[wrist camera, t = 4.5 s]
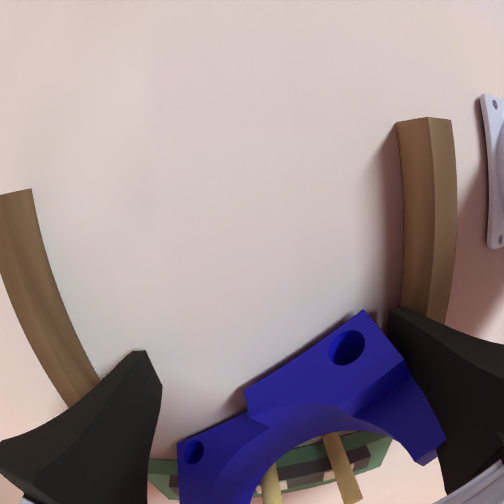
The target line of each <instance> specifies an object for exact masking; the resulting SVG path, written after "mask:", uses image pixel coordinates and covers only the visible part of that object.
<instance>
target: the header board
mask: <svg viewBox="0 0 504 504" xmlns="http://www.w3.org/2000/svg"><path fill="white" fill-rule="evenodd" d="M322 440H323V442H321V443H317V444H313V445H309V446H305V447H300V448H296V449H291V450H290V451H288V452H287V453H285V454H284V455H283V456H282V457H281V458H279V459H278V460H277V461H276V462H275V463H274V464H273V465H272V466H271V467H270V468H269V470H268V471H267V472H266V473H265V474H264V476H263V477H262V479H261V480H260V482H259V483H258V485H257V487H256V489H255V491H254V493H253V496H252V498H253V497H261V496H262V498H263V504H283V501H282V495H281V494H282V493H288V492H293V491H298V490H303V489H307V488H312V487H316V486H320V485H324V484H328V483H331V482H335V481H337V484H338V487H339V490H340V493H341V496H342V499H343V502H344V504H353V503H356V502H358V501H360V500H361V499H363V497H362V494H361V491H360V489H359V486H358V484H357V481H356V478H355V476H354V475H357V474H360V473H363V472H366V471H369V470H372V469H374V468H377V467H379V466H381V464H382V461H383V459H384V457H385V455H386V453H387V450H388V448H389V446H390V443H391V441H392V438H390V437H388V436H385V435H382V434H379V433H374V432H369V431H359V432H356V433H353V434H350V435H346V436H343V437H339V435H338V433H337V432H332V433H327V434H325V435H324V436H323V438H322ZM147 479H148V480H149V481H150V482H151V483H152V484H153V485H154V486H155V487H156V488H157V489H158V490H159V491H160V492H162V493H163V494H164V495H165V496H166V497H167V498H168V499H171V500H179V486H178V466H177V460H150V459H149V464H148V477H147Z"/></svg>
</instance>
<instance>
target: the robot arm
mask: <svg viewBox="0 0 504 504" xmlns="http://www.w3.org/2000/svg"><path fill="white" fill-rule="evenodd" d="M480 104H481V109H482V115H483V121H484V128H485V136H486V145H487V156H488V174H489V214H488V231H487V246H488V247H489V248H491V249H494V250H495V249H498V248H501V247H504V100H503V99H501V98H498V97H495V96H493V95H490V94H482V95H481V96H480ZM386 337H387V338H388V340H389V341H390V342H391V343H392V345H393V346H394V347H395V348H396V350H397V351H398V352H399V353H400V355H401V356H402V357H403V358H404V360H405V362H406V364H407V366H408V368H409V371H410V373H411V376H412V378H413V379H414V381H415V382H416V383H417V385H418V386H419V388H420V389H421V390H422V392H423V394H424V395H425V397H426V398H427V400H428V402H429V404H430V406H431V408H432V410H433V412H434V414H435V416H436V418H437V420H438V422H439V424H440V426H441V428H442V430H443V433H444V435H445V437H446V440H445V441H444V442H443V443H442V445H441V446H440V447H439V448H438V449H437V450H436V452H437V456H438V459H439V463H440V467H441V471H442V476H443V481H444V487H445V492H446V494H447V496H446V497H444V498H442V499H440V500H438V501H437V502H435V503H433V504H504V345H503V344H498V343H493V342H489V341H486V340H482V339H479V338H476V337H473V336H470V335H467V334H464V333H462V332H459V331H457V330H454V329H452V328H450V327H447V326H445V325H443V324H441V323H439V322H436V321H434V320H432V319H430V318H428V317H426V316H424V315H422V314H419V313H417V312H415V311H413V310H411V309H408V308H406V307H403V306H401V307H398V308H394V309H390V311H389V320H388V328H387V336H386ZM161 398H162V384H161V382H160V380H159V378H158V376H157V374H156V372H155V370H154V368H153V366H152V364H151V361H150V359H149V357H148V355H147V353H146V350H145V351H132V352H131V353H130V354H128V355H127V356H126V357H125V358H124V359H123V360H122V361H121V362H120V363H119V364H118V365H117V366H116V367H115V368H114V369H113V370H112V371H111V372H110V373H109V374H108V375H107V376H106V377H105V378H104V379H103V380H102V381H101V382H99V383H98V384H97V385H96V386H95V387H94V388H93V389H92V390H91V391H90V392H88V393H87V394H86V395H85V396H84V397H83V398H82V399H80V400H79V401H78V402H77V403H75V404H74V405H73V406H71V407H70V408H69V409H67V410H66V411H65V412H63V413H62V414H60V415H58V416H57V417H55V418H53V419H52V420H50V421H48V422H47V423H45V424H43V425H41V426H39V427H37V428H35V429H33V430H31V431H29V432H26V433H24V434H21V435H18V436H15V437H12V438H9V439H6V440H2V441H1V442H0V473H1V474H2V475H3V476H4V477H5V478H7V479H8V480H9V481H10V482H11V483H13V484H14V485H15V486H16V487H18V488H19V489H21V490H22V491H23V492H24V495H23V497H22V498H21V501H20V503H19V504H147V477H148V464H149V456H150V450H151V446H152V441H153V437H154V433H155V429H156V425H157V420H158V416H159V412H160V407H161Z"/></svg>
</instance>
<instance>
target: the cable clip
mask: <svg viewBox="0 0 504 504" xmlns="http://www.w3.org/2000/svg"><path fill="white" fill-rule="evenodd" d="M244 394H245V399H246V404H247V409H248V411H247V412H245V413H243V414H241V415H239V416H237V417H235V418H233V419H231V420H229V421H227V422H225V423H223V424H220V425H218V426H216V427H214V428H212V429H210V430H207V431H205V432H203V433H201V434H198V435H196V436H194V437H191V438H189V439H186V440H184V441H182V442H179V443H177V466H178V486H179V500H180V504H250V501H251V498H252V496H253V493H254V491H255V489H256V487H257V485H258V483H259V482H260V480H261V479H262V477H263V476H264V474H265V473H266V472H267V471H268V470H269V468H270V467H271V466H272V465H273V464H274V463H275V462H276V461H277V460H278V459H279V458H281V457H282V456H283V455H284V454H285V453H287V452H288V451H290V450H291V449H293V448H294V447H296V446H298V445H299V444H301V443H303V442H305V441H307V440H310V439H312V438H315V437H317V436H320V435H324V434H327V433H332V432H337V431H347V430H362V431H369V432H374V433H379V434H382V435H385V436H388V437H390V438H392V439H394V440H396V441H398V442H400V443H401V444H402V446H403V447H404V448H405V449H406V450H407V451H408V453H409V454H410V456H411V457H412V459H413V460H414V462H416V463H418V464H420V465H422V466H425V465H426V464H428V463H429V462H431V461H432V460H433V459H435V458H436V457H438V456H437V452H436V450H437V449H438V448H439V447H440V446H441V445H442V443H443V442H444V441H445V440H446V437H445V435H444V433H443V430H442V428H441V426H440V424H439V422H438V420H437V418H436V416H435V414H434V412H433V410H432V408H431V406H430V404H429V402H428V400H427V398H426V397H425V395H424V394H423V392H422V390H421V389H420V388H419V386H418V385H417V383H416V382H415V381H414V379H413V378H412V376H411V373H410V371H409V368H408V366H407V364H406V362H405V360H404V358H403V357H402V356H401V355H400V353H399V352H398V351H397V350H396V348H395V347H394V346H393V345H392V343H391V342H390V341H389V340H388V338H387V337H386V336H385V335H384V333H383V332H382V331H381V330H380V328H379V327H378V326H377V325H376V324H375V322H374V321H373V320H372V319H371V317H370V316H369V315H368V314H367V313H366V311H365V310H364V309H363V310H361V311H360V312H359V313H358V314H356V315H355V316H354V317H352V318H351V319H350V320H348V321H347V322H346V323H345V324H343V325H342V326H341V327H339V328H338V329H336V330H335V331H334V332H332V333H331V334H330V335H328V336H327V337H325V338H324V339H323V340H321V341H320V342H318V343H317V344H316V345H314V346H313V347H311V348H310V349H308V350H307V351H305V352H304V353H302V354H301V355H299V356H298V357H296V358H295V359H293V360H292V361H290V362H289V363H287V364H286V365H284V366H283V367H281V368H279V369H278V370H276V371H275V372H273V373H271V374H270V375H268V376H267V377H265V378H263V379H262V380H260V381H258V382H257V383H255V384H253V385H251V386H250V387H248V388H246V389H245V390H244Z"/></svg>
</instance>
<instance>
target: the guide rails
mask: <svg viewBox="0 0 504 504" xmlns="http://www.w3.org/2000/svg"><path fill="white" fill-rule="evenodd" d="M396 126H397V133H398V141H399V149H400V159H401V170H402V183H403V204H404V255H403V275H402V289H401V300H400V307H401V306H403V307H406V308H408V309H411V310H413V311H415V312H417V313H419V314H422V315H424V316H426V317H428V318H430V319H432V320H434V321H436V322H439V323H441V324H443V325H444V322H445V317H446V312H447V307H448V301H449V296H450V289H451V283H452V275H453V267H454V258H455V246H456V230H457V175H456V159H455V148H454V139H453V131H452V124H451V120H448V119H440V118H432V117H425V118H418V119H412V120H407V121H401V122H396ZM0 273H1V276H2V279H3V282H4V285H5V288H6V291H7V293H8V296H9V298H10V301H11V304H12V306H13V308H14V311H15V313H16V315H17V318H18V320H19V322H20V324H21V327H22V329H23V331H24V333H25V335H26V337H27V339H28V341H29V343H30V345H31V347H32V349H33V351H34V353H35V354H36V356H37V358H38V360H39V362H40V363H41V365H42V367H43V369H44V370H45V372H46V374H47V375H48V377H49V379H50V380H51V382H52V383H53V385H54V387H55V388H56V390H57V391H58V393H59V394H60V396H61V397H62V399H63V400H64V402H65V403H66V404H67V406H68V407H69V408H70V407H71V406H73V405H74V404H75V403H77V402H78V401H79V400H80V399H82V398H83V397H84V396H85V395H86V394H87V393H88V392H90V391H91V390H92V389H93V388H94V387H95V386H96V385H97V384H98V383H99V382H101V381H100V380H99V378H98V376H97V374H96V372H95V371H94V369H93V367H92V365H91V363H90V361H89V359H88V357H87V355H86V353H85V351H84V349H83V347H82V345H81V343H80V341H79V339H78V337H77V335H76V333H75V330H74V328H73V326H72V324H71V321H70V319H69V317H68V314H67V312H66V309H65V307H64V304H63V302H62V299H61V297H60V294H59V291H58V289H57V286H56V283H55V280H54V277H53V274H52V271H51V268H50V265H49V262H48V258H47V255H46V252H45V248H44V244H43V241H42V237H41V233H40V229H39V225H38V221H37V216H36V211H35V207H34V201H33V196H32V190H31V189H26V190H21V191H16V192H12V193H7V194H3V195H0Z"/></svg>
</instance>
